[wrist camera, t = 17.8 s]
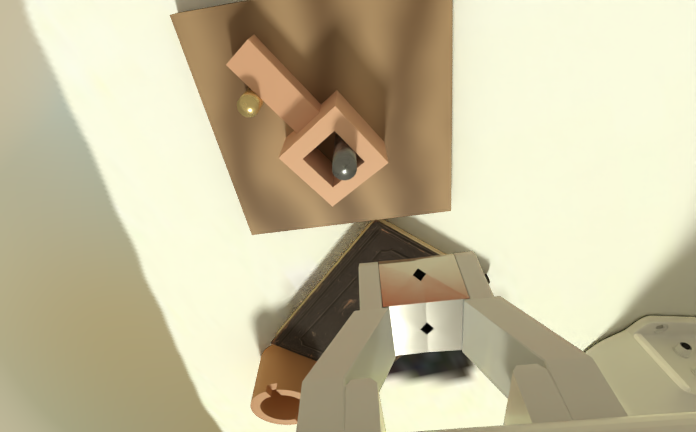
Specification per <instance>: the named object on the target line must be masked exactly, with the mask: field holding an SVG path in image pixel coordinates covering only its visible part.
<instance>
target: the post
mask: <svg viewBox="0 0 696 432" xmlns="http://www.w3.org/2000/svg"><path fill="white" fill-rule="evenodd" d="M356 172H357V160H356V152H355V151H354V150H353V149H352V148H351V147H350V146H349V145H348V144H347V143H346V142H345V141H344V140H343V139H342V138H341V137H340V136H339V135H338V134H337V133H335V138H334V150H333V162H332V173H333V175H334V176H335V177H336V178H338V179H340V180H349V179H351V178H353V177H354V176H355V174H356Z"/></svg>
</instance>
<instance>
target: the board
mask: <svg viewBox="0 0 696 432" xmlns="http://www.w3.org/2000/svg"><path fill="white" fill-rule="evenodd" d="M452 1H453V0H246V1H241V2H235V3H230V4H224V5H218V6H213V7H207V8H202V9H196V10H190V11H185V12H179V13H175V14H172V15H170V17H171V20H172V22H173V25H174V28H175V30H176V33H177V36H178V38H179V41H180V44H181V46H182V49H183V52H184V54H185V57H186V60H187V62H188V65H189V68H190V70H191V73H192V76H193V78H194V81H195V84H196V86H197V89H198V92H199V94H200V97H201V100H202V102H203V105H204V108H205V110H206V113H207V116H208V118H209V121H210V124H211V126H212V129H213V132H214V134H215V137H216V140H217V142H218V145H219V148H220V151H221V153H222V156H223V159H224V161H225V164H226V167H227V169H228V172H229V175H230V177H231V180H232V183H233V185H234V188H235V191H236V193H237V196H238V199H239V201H240V204H241V207H242V209H243V212H244V215H245V217H246V220H247V223H248V225H249V228H250V231H251V233H252V235H255V234H264V233H272V232H280V231H288V230H297V229H305V228H313V227H321V226H330V225H338V224H346V223H354V222H363V221H371V220H379V219H387V218H396V217H404V216H412V215H420V214H429V213H437V212H445V211H451V140H452ZM253 35H255V36H256V37H257V38H258V39H259V40H260V41H261V42H262V43H263V44H264V45H265V46H266V47H267V48H268V49H269V51H270V52H271V53H272V54H273V55H274V56H275V57H276V58H277V59H278V60H279V61H280V62H281V63H282V64H283V65H284V66H285V67H286V68H287V69H288V70H289V71H290V73H291V74H292V75H293V76H294V77H295V78H296V79H297V80H298V81H299V82H300V83H301V84H302V85H303V86H304V87H305V88H306V89H307V90H308V91H309V92H310V93H311V94H312V96H313V97H314V98H315V99H316V100H317V101H318V102H319V103H320V104H322V103H323V102H324V101H325V100H327V99H328V98H329V97H330V96H331V95H332V94H333V93H334V92H335V91H336V90H337V91H338V92H339V93H340V94H341V95H342V96H343V97H344V98H345V99H346V101H347V102H348V103H349V104H350V105H351V106H352V107H353V108H354V109H355V110H356V111H357V113H358V114H359V115H360V116H361V117H362V118H363V119H364V120H365V121H366V122H367V124H368V125H369V126H370V127H371V128H372V129H373V130H374V131H375V132H376V133H377V135H378V136H379V137H380V138H381V139H382V140H383V141H384V142H385V147H386V152H387V158H388V164H386V165H385V166H384V167H383V168H381V169H380V170H379V171H377V172H376V173H375V174H374V175H372V176H371V177H370V178H369V179H367V180H366V181H365V182H363V183H362V184H361V185H360V186H358V187H357V188H356V189H354V190H353V191H352V192H351V193H349V194H348V195H347V196H345V197H344V198H343V199H342V200H340V201H339V202H338V203H336V204H335V205H334V206H333V207H332V206H331V205H330V204H329V203H328V202H327V201H326V200H325V199H323V198H322V197H321V196H320V195H319V194H318V193H317V192H316V191H315V190H313V189H312V188H311V187H310V186H309V185H308V184H307V183H306V182H305V181H303V180H302V179H301V178H300V177H299V176H298V175H297V174H296V173H295V172H293V171H292V170H291V169H290V168H289V167H288V166H287V165H286V164H285V163H283V162H282V161H281V160H280V159H279V155H280V153H281V150H282V147H283V144H284V142H285V139H286V137H287V136H288V135H289V134H290V133H292V132H293V131H294V130H293V129H292V128H291V127H290V126H289V125H288V124H287V123H286V122H285V121H284V120H283V119H282V118H280V117H279V116H278V115H277V114H276V113H275V112H274V111H273V110H272V109H271V108H270V107H269V106H268V105H267V104H266V103H265V102H264V103H263V105H262V107H261V108H260V110H259V112H258V113H257V115H255V116H254V117H250V118H249V117H245V116H243V115H241V114H240V112H239V111H238V109H237V101H238V100H239V98H240V97H241V96H242V95H243V93H244V92H245V91H246V90H247V89H248V86H247V85H246V84H245V83H244V82H243V81H242V80H241V79H240V78H239V77H238V76H237V75H236V74H235V73H234V72H233V71H232V70H231V69H230V68H229V67H228V66H226V64H227V63H228V62H229V61H230V59H231V58H232V57H233V56H234V55H235V54H236V52H237V51H238V50H239V49H240V48H241V47H242V45H243V44H244V43H245V42H246V41H247V40H248V39H249V38H250V37H251V36H253ZM335 133H336V132H335V131H334V132H333V133H331V134H330V135H329V136H328V137H327V138H326V139H325V140H324V141H322V142H321V143H320V144H319V145H318V146H317V147H316V148H317V149H318V150H320V151H321V152H322V153H323V154H324V155H325V156H326V157H327V158H328V159H329V160H330V161H331V162H333V150H334V138H335Z"/></svg>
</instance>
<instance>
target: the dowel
mask: <svg viewBox="0 0 696 432" xmlns="http://www.w3.org/2000/svg"><path fill="white" fill-rule="evenodd" d="M263 103H264V101H263V100H262V99H261V98H260V97H259V96H258V95H257V94H256V93H255V92H253V91H252V90H251V89H250V88H249V87H248V89H247V90H246V91H245V92H244V93H243V95H242V96H241V97H240V98H239V100H238V101H237V109H238V111H239V112H240V114H241V115H243V116H245V117H249V118H250V117H254V116H255V115H257V113H258V112H259V110H260V108H261V107H262V105H263Z"/></svg>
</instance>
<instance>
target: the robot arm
mask: <svg viewBox="0 0 696 432" xmlns="http://www.w3.org/2000/svg"><path fill="white" fill-rule="evenodd" d="M378 263H379V265H378ZM359 297H360V310H358V311H354V312H353V313H352V315H351V316H350V317H349V319H348V320H347V322H346V323H345V324H344V326H343V327H342V328H341V330H340V331H339V332H338V334H337V335H336V336H335V338H334V339H333V341H332V342H331V343H330V345H329V346H328V347H327V349H326V350H325V351H324V353H323V354H322V355H321V357H320V358H319V360H318V361H317V362H316V364H315V365H314V366H313V368H312V369H311V370H310V372H309V373H308V375H307V376H306V377H305V379H304V380H303V381H302V387H301V396H300V404H299V413H298V421H297V430H296V432H386V428H385V423H384V417H383V412H382V406H381V401H380V395H379V392H380V389H381V387H382V385H383V383H384V381H385V379H386V377H387V375H388V373H389V370H390V368H391V366H392V364H393V362H394V360H395V356H397V355H406V354H414V353H423V352H435V351H450V350H462V352H463V353H464V354H465V355H466V356H467V357H468V358H469V359H470V360H471V361H472V362H473V363H474V364H475V365H476V366H477V367H478V368H479V369H480V370H481V371H482V372H483V374H484V375H485V376H486V377H487V378H488V379H489V380H490V381H491V382H492V383H493V384H494V385H495V386H496V387H497V388H498V389H499V390H500V391H501V392H502V393H503V394H504V395H505V396H506V397H507V398H508V402H507V407H506V413H505V419H504V424H503V425H500V426H486V427H473V428H459V429H445V430H431V431H418V432H696V317H681V316H646V317H643V318H641V319H640V320H638V321H636V322H635V323H634V324H632V325H631V326H630V327H628V328H627V329H626V330H624V331H622V332H620V333H617V334H615V335H613V336H611V337H608V338H606V339H604V340H602V341H601V342H599V343H597V344H596V345H594V346H593V347H591V348H590V349H589V350H588V351H587V352H583V351H582V350H580V349H579V348H577V347H576V346H574V345H573V344H571V343H570V342H568V341H567V340H565V339H564V338H562V337H561V336H559V335H558V334H556V333H555V332H553V331H552V330H550V329H549V328H547V327H546V326H544V325H543V324H541V323H540V322H538V321H537V320H535V319H534V318H532V317H531V316H529V315H528V314H526V313H525V312H523V311H522V310H520V309H519V308H517V307H516V306H514V305H513V304H511V303H510V302H508V301H507V300H505V299H504V298H502V297H501V296H496V297H494V295H493V293H492V291H491V288H490V286H489V284H488V282H487V279H486V277H485V275H484V273H483V270H482V268H481V266H480V264H479V261H478V259H477V257H476V254H475V253H474V252H473V251H467V252H460V253H453V254H446V255H438V256H429V257H421V258H412V259H401V260H390V261H379V262H372V263H360V264H359Z"/></svg>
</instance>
